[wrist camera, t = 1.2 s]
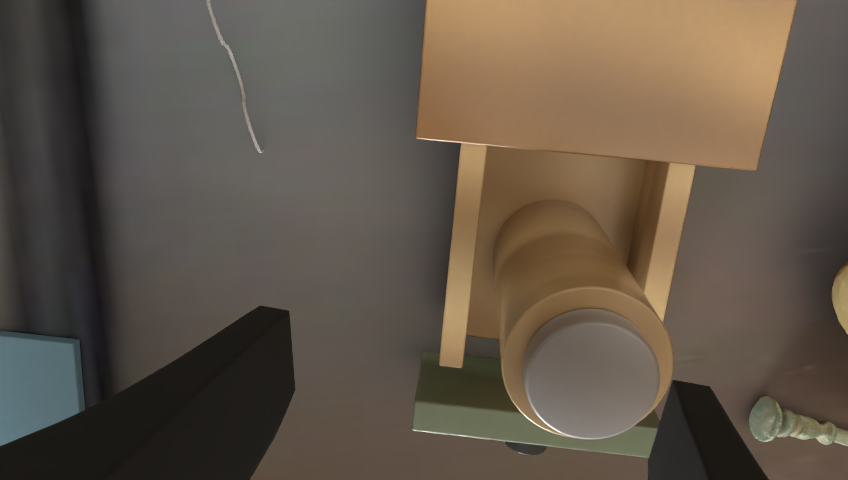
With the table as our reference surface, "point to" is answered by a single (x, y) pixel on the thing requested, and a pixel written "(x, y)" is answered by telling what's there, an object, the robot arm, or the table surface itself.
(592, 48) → the brown cardboard box
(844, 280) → the pastry
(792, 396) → the table surface
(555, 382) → the pepper mill
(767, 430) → the soupspoon
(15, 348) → the mat
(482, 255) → the drawer
